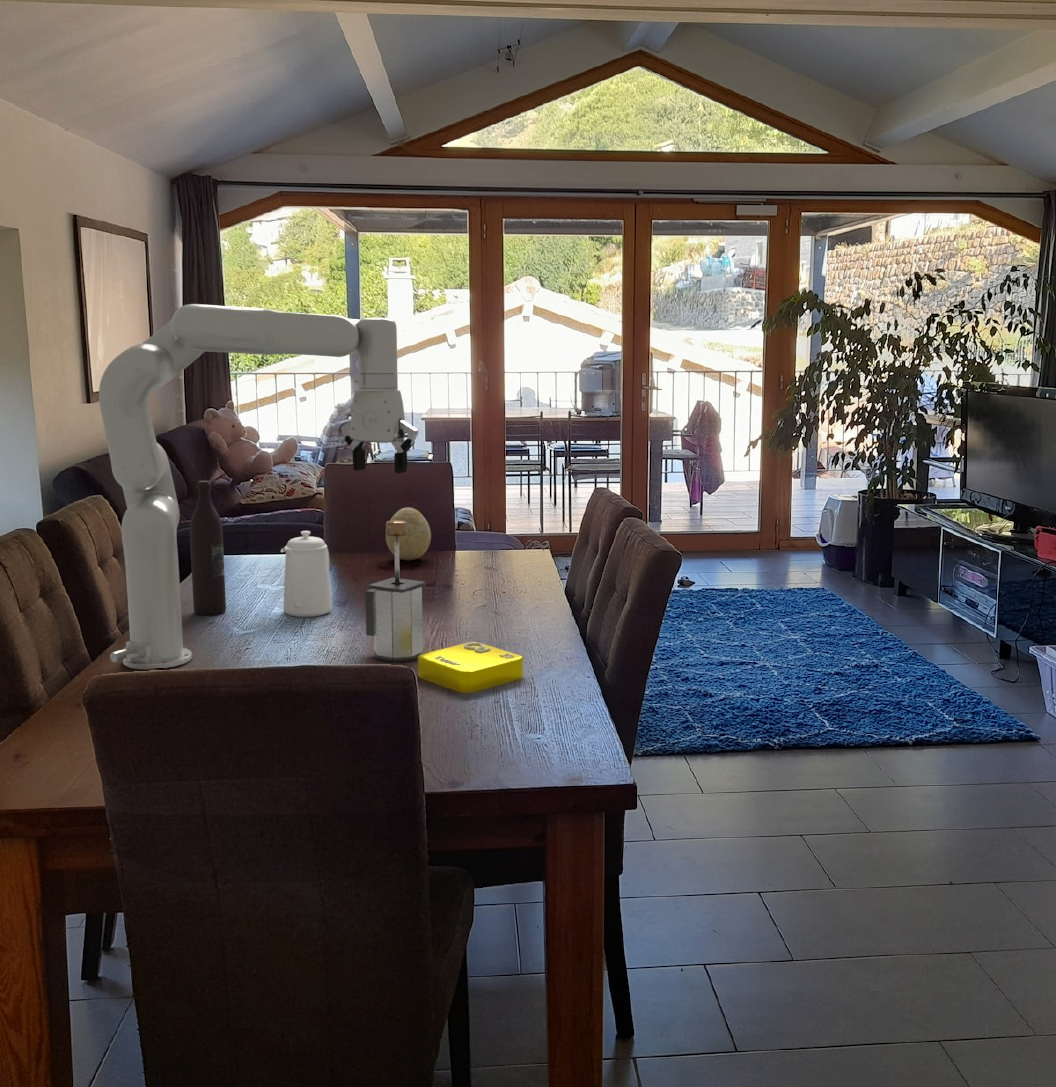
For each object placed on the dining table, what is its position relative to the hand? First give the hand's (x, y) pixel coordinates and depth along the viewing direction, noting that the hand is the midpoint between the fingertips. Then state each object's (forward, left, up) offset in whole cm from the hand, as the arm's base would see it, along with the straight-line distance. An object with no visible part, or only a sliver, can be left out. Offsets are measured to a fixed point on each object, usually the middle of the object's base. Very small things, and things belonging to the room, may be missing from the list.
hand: (379, 471), depth 212 cm
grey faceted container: (-3, -5, -36) cm, 36 cm away
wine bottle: (+4, +51, -36) cm, 63 cm away
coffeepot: (+15, +32, -36) cm, 51 cm away
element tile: (-7, -25, -37) cm, 45 cm away
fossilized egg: (+77, +47, -36) cm, 97 cm away
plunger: (-3, -6, -24) cm, 25 cm away
